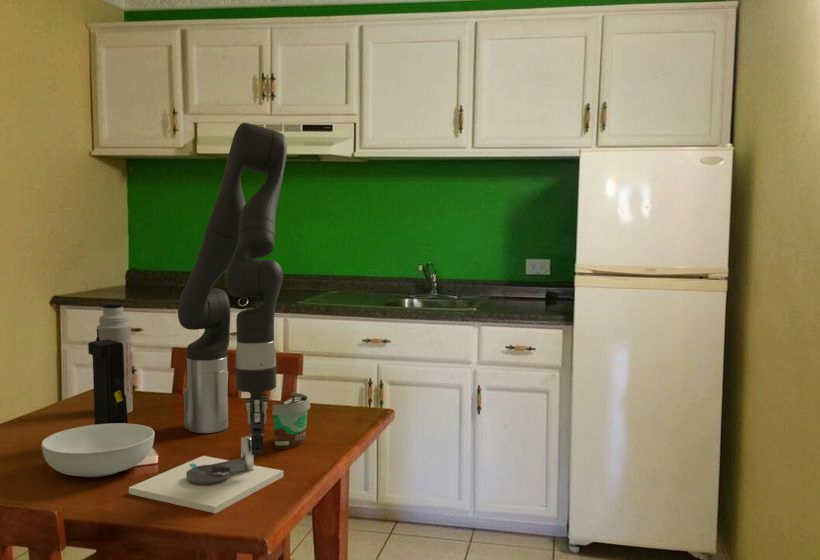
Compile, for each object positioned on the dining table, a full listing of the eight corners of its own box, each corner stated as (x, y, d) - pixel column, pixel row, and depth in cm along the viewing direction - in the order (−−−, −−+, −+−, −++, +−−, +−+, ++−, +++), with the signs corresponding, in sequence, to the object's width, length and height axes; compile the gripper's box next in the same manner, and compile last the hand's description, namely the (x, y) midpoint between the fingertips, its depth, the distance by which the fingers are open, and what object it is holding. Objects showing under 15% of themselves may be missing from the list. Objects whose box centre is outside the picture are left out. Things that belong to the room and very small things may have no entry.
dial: (196, 487, 136) (195, 455, 136) (180, 475, 142) (179, 444, 142) (262, 472, 144) (262, 442, 144) (244, 461, 150) (243, 432, 150)
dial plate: (128, 493, 137) (128, 486, 137) (203, 461, 155) (203, 455, 155) (215, 513, 129) (215, 506, 128) (283, 476, 146) (283, 470, 146)
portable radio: (133, 442, 167) (130, 331, 165) (106, 448, 163) (103, 334, 160) (116, 435, 172) (113, 327, 170) (90, 441, 168) (87, 330, 166)
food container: (299, 452, 161) (299, 407, 160) (272, 450, 162) (272, 405, 162) (317, 435, 173) (317, 393, 172) (292, 434, 174) (292, 391, 174)
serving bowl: (175, 457, 158) (174, 425, 157) (114, 493, 137) (113, 456, 137) (88, 449, 162) (87, 418, 162) (17, 483, 142) (15, 448, 141)
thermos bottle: (137, 407, 197) (134, 301, 194) (125, 415, 189) (122, 305, 186) (107, 407, 197) (104, 301, 194) (94, 415, 189) (90, 305, 186)
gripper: (277, 369, 137) (278, 462, 139) (274, 358, 150) (275, 443, 151) (235, 371, 136) (237, 465, 137) (236, 359, 149) (237, 445, 150)
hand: (257, 453), depth 144 cm, fingers closed
